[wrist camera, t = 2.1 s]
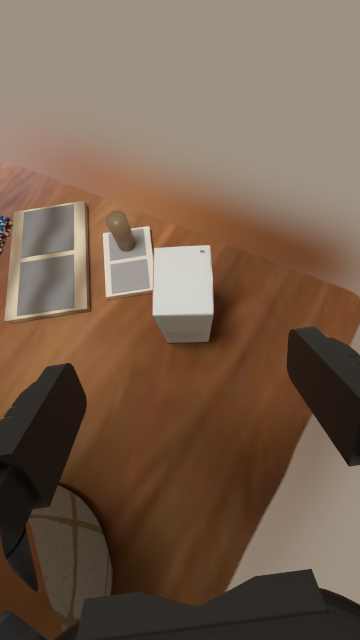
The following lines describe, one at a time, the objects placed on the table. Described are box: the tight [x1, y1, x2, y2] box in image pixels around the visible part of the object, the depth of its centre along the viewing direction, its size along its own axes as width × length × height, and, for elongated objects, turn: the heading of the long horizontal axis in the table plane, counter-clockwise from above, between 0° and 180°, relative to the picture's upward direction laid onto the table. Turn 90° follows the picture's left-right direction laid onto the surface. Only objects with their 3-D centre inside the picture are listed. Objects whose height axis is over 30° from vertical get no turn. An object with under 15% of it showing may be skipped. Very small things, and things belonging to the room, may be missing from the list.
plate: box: [103, 211, 153, 300], centre depth 38 cm, size 8×12×7 cm, turn 8°
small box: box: [152, 245, 214, 343], centre depth 32 cm, size 8×6×13 cm
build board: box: [5, 201, 90, 323], centre depth 42 cm, size 13×21×1 cm, turn 8°
